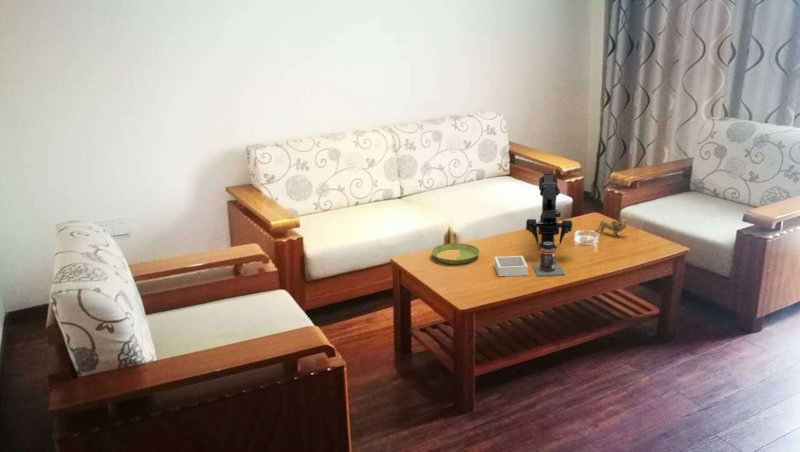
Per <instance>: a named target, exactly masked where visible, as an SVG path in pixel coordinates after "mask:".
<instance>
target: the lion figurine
mask: <svg viewBox="0 0 800 452" xmlns="http://www.w3.org/2000/svg"><path fill="white" fill-rule="evenodd" d="M627 224H628V223H627V220H626V219H625V218H620V219H618V220H614V221H612V222H611V221H609V220H605V219H604V220H601V222H600V224H599V226H598V229H597V230H595V232H600V233H601V235H602V236H605V233H604V230H605V229H607V230H609V231H613V238H614V239H617V238H618V237H619V234H618V233H620V232H622V230H625V229H626V227H627Z"/></svg>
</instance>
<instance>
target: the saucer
mask: <svg viewBox="0 0 800 452" xmlns="http://www.w3.org/2000/svg"><path fill="white" fill-rule="evenodd" d="M447 250H459V251H460V252H459V253H458V254H460V255H461V256H460V257H457V258H456V259H457V260H453V259H452V260H450V259H443V258H439V257H437V254H439V253H440V252H443V251H447ZM431 253H432V256H434V258H435V259H436V260H437V261H439V262H441V263H443V262H444V264H448V263H450V265H461V264H462V263H463V264H466V263H470V262H473V260H475V259H476V258H477V257H478V256H479V254H480V249H479V248H478V247H476V246H474V245H472V244H468V243H445V244H441V245H439V246H436V247H434V248H433V249H432V250H431ZM444 254H445V253H444Z"/></svg>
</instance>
